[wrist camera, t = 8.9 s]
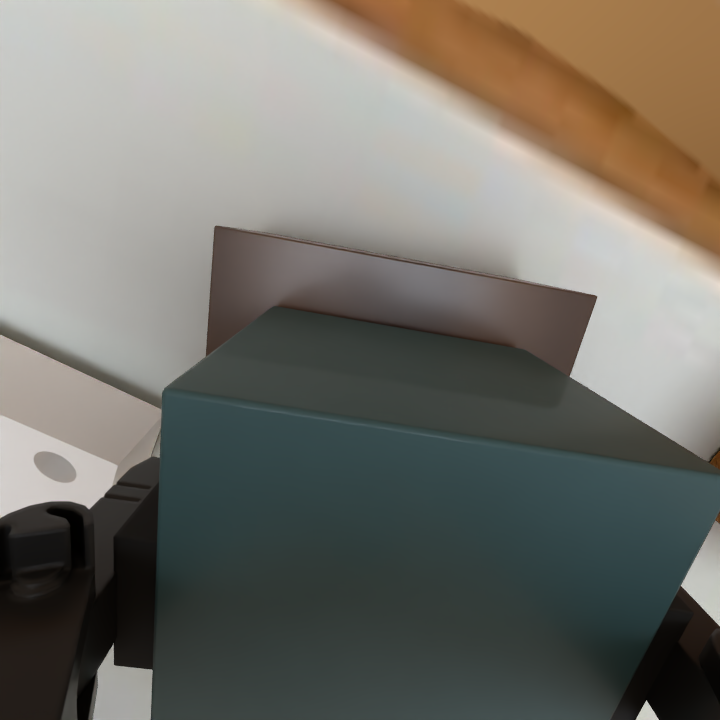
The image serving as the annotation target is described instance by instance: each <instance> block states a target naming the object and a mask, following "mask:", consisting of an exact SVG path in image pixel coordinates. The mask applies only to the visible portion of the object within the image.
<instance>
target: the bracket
mask: <svg viewBox="0 0 720 720" xmlns="http://www.w3.org/2000/svg"><path fill="white" fill-rule="evenodd" d="M161 413H162V409H159V408H157V407H155V406H153V405H151V404H149V403H147V402H144V401H142V400H140V399H138V398H136V397H134V396H131V395H129V394H127V393H125V392H123V391H121V390H119V389H116V388H114V387H112V386H110V385H108V384H106V383H103V382H101V381H99V380H97V379H95V378H93V377H91V376H88V375H86V374H84V373H82V372H80V371H78V370H75V369H73V368H71V367H69V366H67V365H65V364H63V363H60V362H58V361H56V360H54V359H52V358H50V357H47V356H45V355H43V354H41V353H39V352H37V351H35V350H32V349H30V348H28V347H26V346H24V345H22V344H19V343H17V342H15V341H13V340H11V339H9V338H6V337H4V336H2V335H0V517H3V516H5V515H7V514H8V513H11V512H14V511H16V510H19V509H22V508H24V507H27V506H30V505H35V504H40V503H45V502H50V501H71V502H74V503H78V504H81V505H85V506H86V507H87V508H88V509H90V508H91V507H92V506H93V505H94V504H95V503H96V502H97V501H98V500H99V499H100V498H101V497H104V495H105V493H106V492H107V491H108V490H109V489H110V488H111V487H112V486H113V485H116V483H117V481H118V480H119V479H120V478H121V477H122V476H123V475H124V474H125V473H126V472H127V471H128V470H129V469H130V468H131V467H133V466H135V465H137V464H139V463H141V462H143V461H145V460H147V459H149V458H150V457H151V454H152V452H153V449H154V446H155V443H156V440H157V437H158V434H159V431H160V428H161Z"/></svg>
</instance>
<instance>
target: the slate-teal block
mask: <svg viewBox="0 0 720 720" xmlns="http://www.w3.org/2000/svg"><path fill="white" fill-rule="evenodd" d="M719 512H720V470H719V469H718V468H716V467H715V466H713V465H711V464H710V463H708V462H706V461H705V460H703V459H702V458H700V457H698V456H697V455H695V454H694V453H692V452H690V451H689V450H687V449H685V448H684V447H682V446H681V445H679V444H677V443H676V442H674V441H672V440H671V439H669V438H668V437H666V436H664V435H663V434H661V433H660V432H658V431H656V430H655V429H653V428H651V427H650V426H648V425H647V424H645V423H643V422H642V421H640V420H638V419H637V418H635V417H634V416H632V415H630V414H629V413H627V412H626V411H624V410H622V409H621V408H619V407H617V406H616V405H614V404H613V403H611V402H609V401H608V400H606V399H604V398H603V397H601V396H600V395H598V394H596V393H595V392H593V391H592V390H590V389H588V388H587V387H585V386H583V385H582V384H580V383H579V382H577V381H575V380H574V379H572V378H570V377H569V376H567V375H566V374H564V373H562V372H561V371H559V370H558V369H556V368H554V367H553V366H551V365H549V364H548V363H546V362H545V361H543V360H541V359H540V358H538V357H536V356H535V355H533V354H532V353H530V352H528V351H527V350H525V349H519V348H513V347H507V346H502V345H496V344H490V343H484V342H479V341H473V340H467V339H461V338H456V337H450V336H444V335H438V334H433V333H427V332H421V331H415V330H410V329H404V328H398V327H392V326H387V325H381V324H375V323H369V322H363V321H358V320H352V319H346V318H340V317H335V316H329V315H323V314H317V313H312V312H306V311H300V310H294V309H289V308H283V307H277V306H273V307H271V308H270V309H269V310H267V311H266V312H265V313H263V314H262V315H261V316H259V317H258V318H257V319H255V320H254V321H253V322H251V323H250V324H249V325H247V326H246V327H245V328H244V329H242V330H241V331H240V332H238V333H237V334H236V335H234V336H233V337H232V338H230V339H229V340H228V341H226V342H225V343H224V344H222V345H221V346H220V347H218V348H217V349H216V350H214V351H213V352H212V353H210V354H209V355H208V356H206V357H205V358H204V359H202V360H201V361H200V362H198V363H197V364H196V365H194V366H193V367H192V368H191V369H189V370H188V371H187V372H185V373H184V374H183V375H181V376H180V377H179V378H177V379H176V380H175V381H173V382H172V383H171V384H169V385H168V386H167V387H165V388H164V390H163V392H162V413H161V442H160V471H159V500H158V529H157V558H156V587H155V617H154V646H153V675H152V704H151V720H610V719H611V718H612V716H613V714H614V712H615V710H616V708H617V706H618V704H619V702H620V700H621V699H622V697H623V695H624V693H625V691H626V689H627V687H628V685H629V683H630V681H631V679H632V678H633V676H634V674H635V672H636V670H637V668H638V666H639V664H640V662H641V660H642V659H643V657H644V655H645V653H646V651H647V649H648V647H649V645H650V643H651V641H652V639H653V638H654V636H655V634H656V632H657V630H658V628H659V626H660V624H661V622H662V620H663V619H664V617H665V615H666V613H667V611H668V609H669V607H670V605H671V603H672V601H673V599H674V598H675V596H676V594H677V592H678V590H679V588H680V586H681V584H682V582H683V580H684V579H685V577H686V575H687V573H688V571H689V569H690V567H691V565H692V563H693V561H694V559H695V558H696V556H697V554H698V552H699V550H700V548H701V546H702V544H703V542H704V540H705V539H706V537H707V535H708V533H709V531H710V529H711V527H712V525H713V523H714V521H715V519H716V518H717V516H718V514H719Z"/></svg>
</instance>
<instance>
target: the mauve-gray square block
mask: <svg viewBox="0 0 720 720" xmlns="http://www.w3.org/2000/svg"><path fill="white" fill-rule="evenodd" d="M596 299H597V296H595V295H591V294H586V293H581V292H576V291H572V290H567V289H562V288H557V287H553V286H548V285H543V284H538V283H533V282H529V281H524V280H519V279H514V278H508V277H503V276H497V275H492V274H487V273H481V272H476V271H470V270H465V269H460V268H454V267H449V266H443V265H438V264H433V263H427V262H422V261H416V260H411V259H406V258H400V257H395V256H389V255H384V254H378V253H373V252H368V251H362V250H357V249H351V248H346V247H341V246H335V245H330V244H324V243H319V242H314V241H308V240H303V239H297V238H292V237H287V236H281V235H276V234H270V233H265V232H259V231H252V230H244V229H237V228H230V227H223V226H215V227H214V242H213V257H212V272H211V287H210V302H209V317H208V332H207V347H206V356H208V355H209V354H210V353H212V352H213V351H214V350H216V349H217V348H218V347H220V346H221V345H222V344H224V343H225V342H226V341H228V340H229V339H230V338H232V337H233V336H234V335H236V334H237V333H238V332H240V331H241V330H242V329H244V328H245V327H246V326H247V325H249V324H250V323H251V322H253V321H254V320H255V319H257V318H258V317H259V316H261V315H262V314H263V313H265V312H266V311H267V310H269V309H270V308H271V307H273V306H277V307H283V308H289V309H294V310H300V311H306V312H312V313H317V314H323V315H329V316H335V317H340V318H346V319H352V320H358V321H363V322H369V323H375V324H381V325H387V326H392V327H398V328H404V329H410V330H415V331H421V332H427V333H433V334H438V335H444V336H450V337H456V338H461V339H467V340H473V341H479V342H484V343H490V344H496V345H502V346H507V347H513V348H519V349H525V350H527V351H528V352H530V353H532V354H533V355H535V356H536V357H538V358H540V359H541V360H543V361H545V362H546V363H548V364H549V365H551V366H553V367H554V368H556V369H558V370H559V371H561V372H562V373H564V374H566V375H567V376H570V373H571V371H572V368H573V365H574V362H575V359H576V356H577V354H578V351H579V348H580V345H581V342H582V339H583V336H584V334H585V331H586V328H587V325H588V322H589V319H590V316H591V314H592V311H593V308H594V305H595V302H596Z"/></svg>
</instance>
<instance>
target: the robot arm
mask: <svg viewBox="0 0 720 720" xmlns="http://www.w3.org/2000/svg"><path fill="white" fill-rule="evenodd" d="M159 471H160V458H157V457H150V458H149V459H147V460H145V461H143V462H141V463H139V464H137V465H135V466H133V467H131V468H130V469H129V470H128V471H127V472H126V473H125V474H124V475H123V476H122V477H121V478H120V479H119V480H118V481H117V483H116V485H113V486H112V487H111V488H110V489H109V490H108V491H107V492H106V493H105V495H104V497H101V498H100V499H99V500H98V501H97V502H96V503H95V504H94V505H93V506H92V507H91V508H90V509H88V508H87V507H86V506H85V505H81V504H78V503H74V502H71V501H50V502H45V503H40V504H35V505H30V506H27V507H24V508H22V509H19V510H16V511H14V512H11V513H8V514H7V515H5V516H3V517H2V518H0V720H92V719H93V713H94V707H95V701H96V694H97V688H98V678H97V670H98V668H99V667H100V665H101V663H102V662H103V660H104V658H105V657H106V655H107V653H108V652H109V650H110V648H111V647H112V645H113V643H114V665H116V666H125V667H134V668H143V669H152V670H153V646H154V617H155V587H156V558H157V529H158V500H159ZM646 700H647V701H648V703H649V705H650V706H651V708H652V709H653V711H654V712H655V714H656V716H657V717H658V719H659V720H720V626H719V625H718V624H717V623H716V622H715V621H714V620H713V619H712V618H711V617H710V616H709V615H708V614H707V613H706V612H705V611H704V610H703V609H702V607H701V606H700V605H699V604H698V603H697V602H696V601H695V600H694V599H693V598H692V597H691V596H690V595H689V594H688V593H687V592H686V591H685V590H684V589H683V588H682V587H681V586H680V588H679V590H678V592H677V594H676V596H675V598H674V599H673V601H672V603H671V605H670V607H669V609H668V611H667V613H666V615H665V617H664V619H663V620H662V622H661V624H660V626H659V628H658V630H657V632H656V634H655V636H654V638H653V639H652V641H651V643H650V645H649V647H648V649H647V651H646V653H645V655H644V657H643V659H642V660H641V662H640V664H639V666H638V668H637V670H636V672H635V674H634V676H633V678H632V679H631V681H630V683H629V685H628V687H627V689H626V691H625V693H624V695H623V697H622V699H621V700H620V702H619V704H618V706H617V708H616V710H615V712H614V714H613V716H612V718H611V719H610V720H636V718H637V716H638V714H639V712H640V711H641V709H642V707H643V705H644V703H645V702H646Z"/></svg>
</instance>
